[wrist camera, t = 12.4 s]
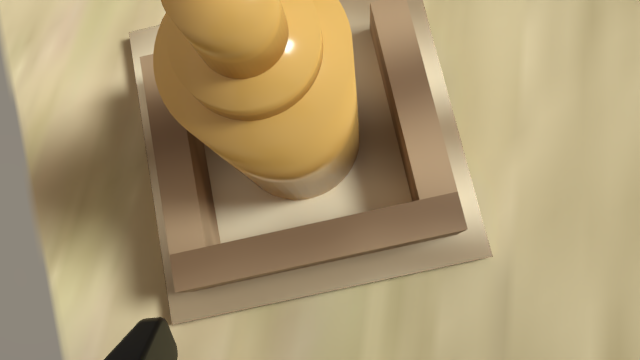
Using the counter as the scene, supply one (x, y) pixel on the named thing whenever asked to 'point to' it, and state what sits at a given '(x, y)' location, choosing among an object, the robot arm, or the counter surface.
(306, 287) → the u rest
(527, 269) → the counter surface
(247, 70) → the amber bottle
